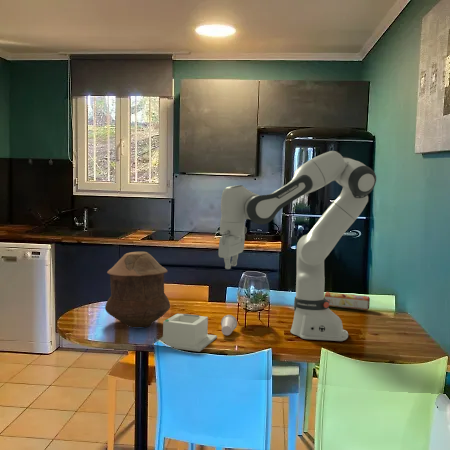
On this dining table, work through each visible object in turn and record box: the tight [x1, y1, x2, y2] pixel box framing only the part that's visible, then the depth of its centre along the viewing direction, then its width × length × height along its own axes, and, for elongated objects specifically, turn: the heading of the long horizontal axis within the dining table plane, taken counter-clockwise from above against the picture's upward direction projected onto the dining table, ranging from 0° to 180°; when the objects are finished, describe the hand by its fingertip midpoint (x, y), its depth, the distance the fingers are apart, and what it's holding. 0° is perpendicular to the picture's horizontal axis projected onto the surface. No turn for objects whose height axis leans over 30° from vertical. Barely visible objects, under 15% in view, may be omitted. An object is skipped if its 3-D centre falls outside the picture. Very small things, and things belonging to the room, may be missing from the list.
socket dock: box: [151, 313, 218, 352], centre depth 191 cm, size 18×18×9 cm
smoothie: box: [220, 314, 238, 336], centre depth 204 cm, size 6×6×14 cm
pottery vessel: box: [104, 251, 171, 328], centre depth 208 cm, size 26×26×30 cm
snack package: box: [324, 291, 371, 311], centre depth 251 cm, size 21×7×7 cm
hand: (230, 267), depth 192 cm, fingers open, 6 cm apart
